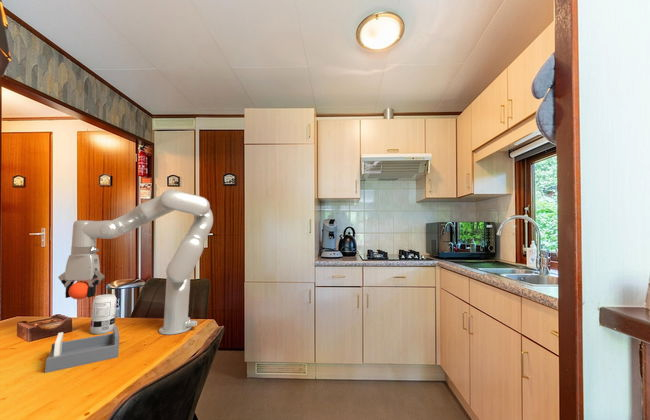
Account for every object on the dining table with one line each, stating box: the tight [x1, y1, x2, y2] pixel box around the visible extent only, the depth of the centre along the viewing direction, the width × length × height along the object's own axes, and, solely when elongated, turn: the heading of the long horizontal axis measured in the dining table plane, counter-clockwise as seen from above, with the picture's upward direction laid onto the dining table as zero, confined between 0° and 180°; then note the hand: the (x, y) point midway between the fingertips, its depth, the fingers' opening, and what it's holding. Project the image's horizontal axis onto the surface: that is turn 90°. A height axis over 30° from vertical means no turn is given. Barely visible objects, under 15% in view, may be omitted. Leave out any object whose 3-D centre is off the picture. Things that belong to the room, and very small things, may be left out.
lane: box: [44, 325, 120, 374], centre depth 97 cm, size 18×15×7 cm
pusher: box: [54, 331, 64, 356], centre depth 92 cm, size 1×12×7 cm, turn 40°
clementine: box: [68, 281, 90, 301], centre depth 109 cm, size 8×7×7 cm
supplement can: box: [89, 293, 118, 335], centre depth 121 cm, size 8×8×15 cm
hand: (80, 296), depth 109 cm, fingers closed on clementine, 7 cm apart
